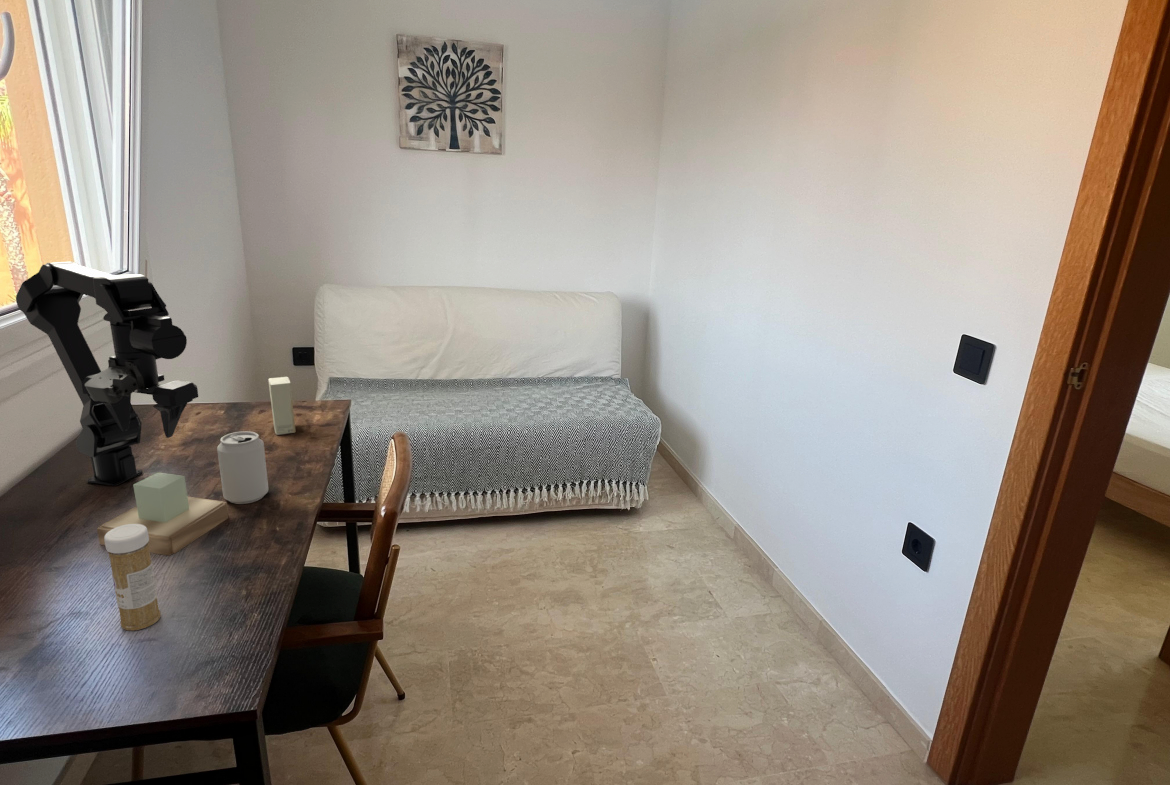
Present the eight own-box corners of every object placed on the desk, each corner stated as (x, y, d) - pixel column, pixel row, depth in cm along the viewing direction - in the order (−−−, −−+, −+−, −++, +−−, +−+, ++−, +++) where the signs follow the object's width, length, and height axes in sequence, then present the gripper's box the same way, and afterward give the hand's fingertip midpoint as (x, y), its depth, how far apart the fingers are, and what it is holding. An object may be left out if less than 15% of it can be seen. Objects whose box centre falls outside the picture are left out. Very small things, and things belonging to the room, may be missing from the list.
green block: (138, 518, 107) (133, 484, 105) (163, 504, 112) (158, 472, 110) (165, 522, 106) (160, 488, 104) (189, 508, 111) (184, 476, 109)
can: (251, 508, 118) (243, 446, 114) (214, 503, 119) (205, 441, 116) (277, 490, 125) (271, 431, 121) (242, 485, 126) (235, 427, 123)
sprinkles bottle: (115, 621, 87) (98, 530, 83) (154, 606, 90) (139, 518, 86) (127, 637, 84) (110, 544, 80) (167, 621, 88) (152, 531, 84)
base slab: (98, 544, 105) (95, 527, 104) (164, 506, 117) (161, 491, 116) (171, 555, 102) (168, 538, 101) (230, 516, 115) (228, 501, 114)
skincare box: (296, 433, 153) (291, 383, 149) (275, 435, 151) (269, 385, 147) (293, 424, 158) (288, 375, 155) (272, 426, 156) (267, 377, 153)
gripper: (43, 353, 107) (60, 442, 112) (141, 367, 104) (155, 457, 109) (104, 339, 118) (117, 421, 123) (195, 351, 115) (205, 434, 119)
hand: (147, 433), depth 118 cm, fingers open, 9 cm apart
